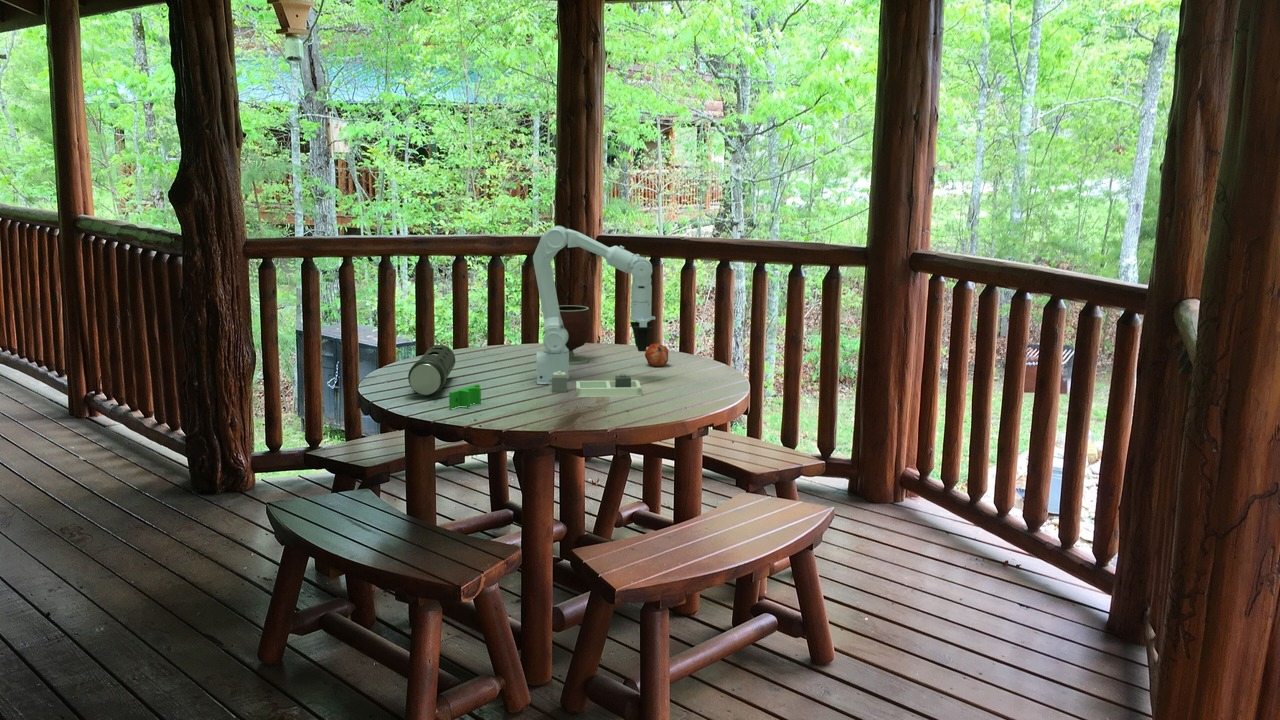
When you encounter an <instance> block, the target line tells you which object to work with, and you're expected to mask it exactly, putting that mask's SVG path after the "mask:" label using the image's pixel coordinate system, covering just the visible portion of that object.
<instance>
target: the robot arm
mask: <svg viewBox="0 0 1280 720" xmlns="http://www.w3.org/2000/svg"><path fill="white" fill-rule="evenodd" d="M566 246H567V248H568V249H569V248H577V247H579V248H581V249H583V250H585V251H588V252H591V253H593V254H596V255H598V256H600V257H602V258H604V259H605V261H606V264H607V265H608V266H610V267H613V268H615V269H616V270H619V271H620V272H623V273H625V274H631V276H632V279H631V280H632V284H631V285H630V286H631V289H630V290H631V292H630V293H631V297H630V299H631V300H630V319H629V320H631V321H630V322H629V324H630V326H631V328H632V333H633V337H634V343H635V347H636V349H637V351H638V352H645V351H646V350H647V349H648V342H649V339H650V336H651V334H652V331H653V328H654V327H653V326H650V324H651V323H650V322H651V321H652V320H656V316H653V315H652V302H653V301H652V298H653V297H652V294H653V291H652V289H653V287H652V275H653V264H652V263H651V261H650V260H648V259H647V258H646V257H644V256H640V254H639V253H636V254H635V253H632V252H631V251H629V250H627V249H625V246H622V245H619V246H618V245H613V246H611V247H609V246H607V245H605V244H603V243H601V242H599V241H597V240H595V239H594V238H591V237H589V236H587V235H585V234H584V233H581V232H579V231H577V230H574V229H570V228H566V227H564V226H562V225H555V226H552V227H550V228H549V229H547V230H546V231H545V232H544V233H543V234H542V235H541V237H540V239H539V242H538V244H537V247H536V249H535V252H534V254H533V255H532V262H533V267H534V273H535V277H536V283H537V289H538V295H539V300H540V306H541V310H542V316H543V329H544V336H543V339H542V343H543V346H544V348H543V349H542V351H536V370H535V378H536V385H550V381H552V375H553V372H558V371H561V372H565V375H567V380H569V379H570V365H569V349H568V348H567V347H566V345H565V344H566V343H567V341H568V332H567V330H566V329H565V328H564V326H563V321H562V318H561V316H560V310H559V306H560V305H559V301H558V295H557V289H556V283H555V278H554V274H553V267H552V260H553V259H554V257H555V256H556V255H557V254H558V252H559V251H560V250H562V249H563V248H564V247H566Z"/></svg>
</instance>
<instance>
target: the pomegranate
mask: <svg viewBox="0 0 1280 720" xmlns="http://www.w3.org/2000/svg"><path fill="white" fill-rule="evenodd" d="M644 352H645V353H644V357H645V359H646V361H647V363H648V365H650V366H651V367H663V366H665V365H667V364H668V362H669V350H668V347H667V346H666V345H662V344H660V343H658V342H657V343H656V342H655V343H651V344H650V345H649V346H647V348H646V351H644Z"/></svg>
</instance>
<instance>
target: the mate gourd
mask: <svg viewBox="0 0 1280 720" xmlns="http://www.w3.org/2000/svg"><path fill="white" fill-rule="evenodd" d="M559 310H560V316H561V318H562V321H563V326H564V328H565V329H566V330H567V332H568V341H567V343H566V344H565V345H566V347H567V348H568V349H569V366H575V365H584V364H587V363H588V362H589V358H587V357H585V356H580V355H579V356H578V355H575V352H574V350H576V349H578V348H580V347H583V346H585V345H586V343H587V341H588V340H589V337H590V333H591V315H590V310H589V307H588V306H584V305H574V304H573V305H571V304H570V305H559Z"/></svg>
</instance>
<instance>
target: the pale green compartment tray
mask: <svg viewBox="0 0 1280 720" xmlns="http://www.w3.org/2000/svg"><path fill="white" fill-rule="evenodd" d="M575 391H576V397H577V398H592V397H595V398H596V397H598V398H599V397H600V398H603V397H605V398H606V397H642V387H641V383H640V380H638V379H634V380H632V379H631V387H624V388H615V380H576V381H575Z"/></svg>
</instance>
